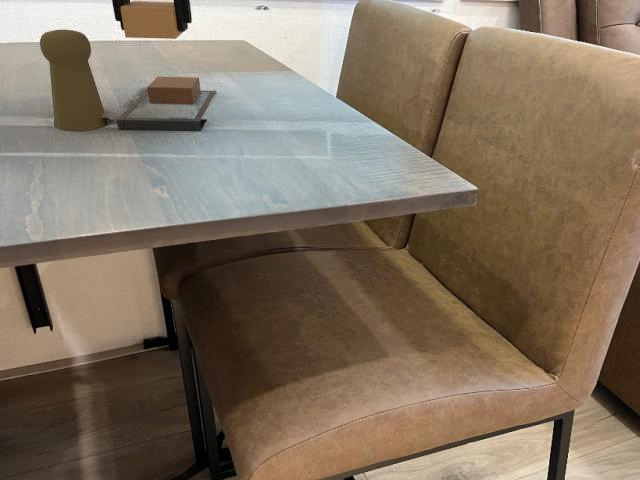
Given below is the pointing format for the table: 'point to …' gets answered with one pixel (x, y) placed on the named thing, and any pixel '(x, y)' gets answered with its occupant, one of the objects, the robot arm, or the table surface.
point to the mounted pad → (174, 90)
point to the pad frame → (162, 123)
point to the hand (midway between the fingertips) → (155, 27)
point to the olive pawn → (72, 82)
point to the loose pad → (150, 20)
